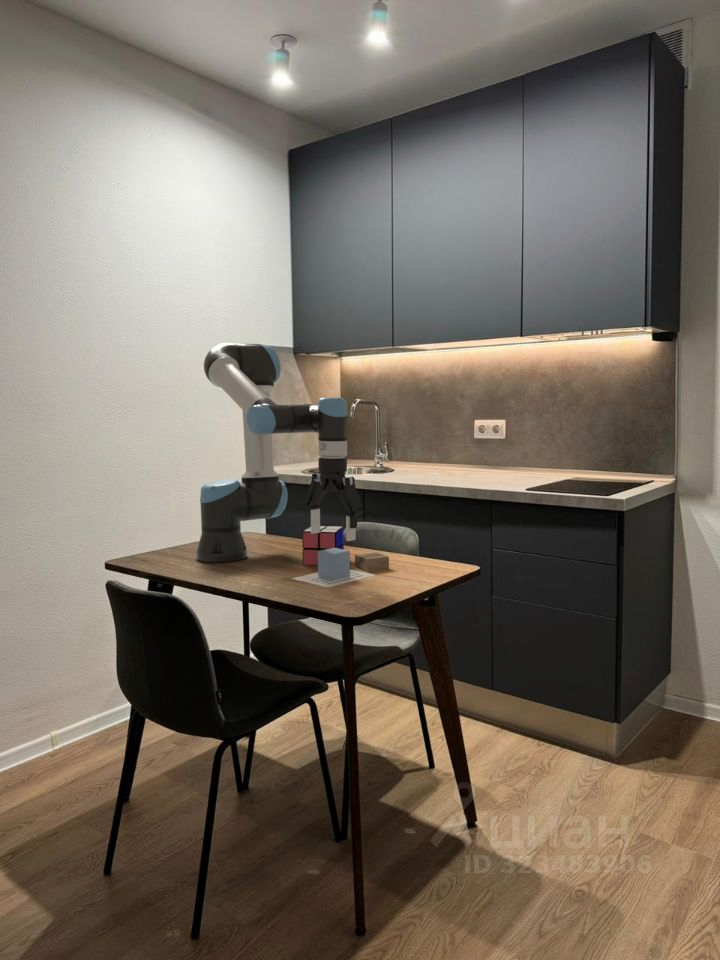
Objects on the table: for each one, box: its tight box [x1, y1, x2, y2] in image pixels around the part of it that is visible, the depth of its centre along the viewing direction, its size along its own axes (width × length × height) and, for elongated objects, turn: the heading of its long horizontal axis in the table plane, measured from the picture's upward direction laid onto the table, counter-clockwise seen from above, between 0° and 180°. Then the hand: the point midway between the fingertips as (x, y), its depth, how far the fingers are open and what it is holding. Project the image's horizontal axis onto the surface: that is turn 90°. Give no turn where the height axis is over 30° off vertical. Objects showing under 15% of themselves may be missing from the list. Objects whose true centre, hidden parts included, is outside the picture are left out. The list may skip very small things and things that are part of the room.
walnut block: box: [354, 551, 390, 573], centre depth 204 cm, size 7×7×4 cm
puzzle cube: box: [301, 525, 345, 566], centre depth 213 cm, size 10×10×10 cm
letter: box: [291, 568, 376, 588], centre depth 194 cm, size 14×18×1 cm
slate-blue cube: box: [317, 548, 351, 581], centre depth 194 cm, size 6×6×7 cm
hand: (332, 536), depth 193 cm, fingers open, 13 cm apart
